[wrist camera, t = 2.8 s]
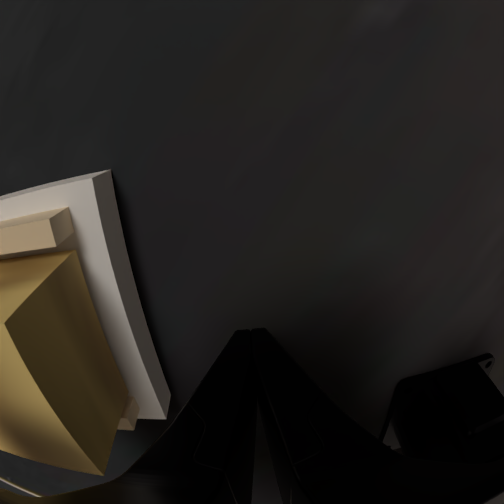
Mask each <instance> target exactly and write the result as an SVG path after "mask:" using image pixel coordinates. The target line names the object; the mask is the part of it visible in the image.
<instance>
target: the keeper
mask: <svg viewBox="0 0 504 504" xmlns="http://www.w3.org/2000/svg"><path fill="white" fill-rule="evenodd" d="M128 392H129V391H128V389H127V387H126V385H125V383H124V381H123V378H122V376H121V374H120V372H119V369H118V367H117V365H116V362H115V360H114V358H113V355H112V353H111V351H110V348H109V346H108V343H107V341H106V338H105V336H104V333H103V330H102V328H101V325H100V322H99V320H98V317H97V314H96V311H95V309H94V306H93V303H92V300H91V297H90V294H89V291H88V288H87V285H86V282H85V279H84V275H83V272H82V269H81V266H80V262H79V259H78V255H77V252H76V250H68V251H60V252H53V253H45V254H38V255H30V256H23V257H16V258H9V259H2V260H0V450H3V451H6V452H9V453H12V454H15V455H18V456H21V457H24V458H28V459H31V460H34V461H38V462H42V463H45V464H49V465H53V466H57V467H61V468H66V469H70V470H75V471H80V472H85V473H90V474H96V475H102V476H104V474H105V470H106V466H107V463H108V459H109V455H110V452H111V448H112V445H113V441H114V438H115V434H116V431H117V428H118V424H119V421H120V418H121V415H122V411H123V408H124V405H125V402H126V399H127V395H128Z"/></svg>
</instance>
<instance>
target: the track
mask: <svg viewBox="0 0 504 504" xmlns="http://www.w3.org/2000/svg"><path fill="white" fill-rule="evenodd" d="M68 250H76V252H77V255H78V259H79V262H80V266H81V269H82V272H83V275H84V279H85V282H86V285H87V288H88V291H89V294H90V297H91V300H92V303H93V306H94V309H95V311H96V314H97V317H98V320H99V322H100V325H101V328H102V330H103V333H104V336H105V338H106V341H107V343H108V346H109V348H110V351H111V353H112V355H113V358H114V360H115V362H116V365H117V367H118V369H119V372H120V374H121V376H122V378H123V381H124V383H125V385H126V387H127V389H128V391H129V392H128V395H127V399H126V402H125V405H124V408H123V411H122V415H121V418H120V421H119V424H118V428H117V429H121V430H134V429H135V425H136V421H137V419H167V413H168V408H169V403H170V397H171V394H170V391H169V388H168V385H167V383H166V380H165V377H164V374H163V372H162V369H161V366H160V363H159V360H158V357H157V354H156V351H155V348H154V345H153V342H152V339H151V336H150V332H149V329H148V326H147V323H146V319H145V316H144V313H143V309H142V306H141V302H140V299H139V295H138V292H137V288H136V284H135V281H134V277H133V273H132V269H131V265H130V261H129V257H128V253H127V249H126V244H125V240H124V236H123V231H122V227H121V222H120V217H119V212H118V207H117V202H116V197H115V192H114V186H113V181H112V175H111V170H106V171H101V172H96V173H91V174H86V175H82V176H77V177H73V178H68V179H64V180H60V181H56V182H52V183H48V184H44V185H40V186H36V187H32V188H28V189H25V190H21V191H17V192H14V193H10V194H7V195H3V196H0V260H2V259H9V258H16V257H23V256H30V255H38V254H45V253H53V252H60V251H68Z"/></svg>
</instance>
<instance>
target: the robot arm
mask: <svg viewBox="0 0 504 504" xmlns="http://www.w3.org/2000/svg"><path fill="white" fill-rule="evenodd" d="M494 362H495V358H494V357H493V356H492V354H490V353H488V354H485V355H483V356H480V357H477V358H474V359H471V360H468V361H465V362H462V363H459V364H456V365H453V366H450V367H446V368H443V369H440V370H436V371H433V372H429V373H426V374H422V375H419V376H415V377H411V378H407V379H405V380H403V381H402V382H400V383H399V384H398V386H397V388H396V392H395V395H394V398H393V402H392V405H391V408H390V411H389V414H388V417H387V420H386V423H385V426H384V429H383V432H382V435H381V437H380V440H379V439H377V438H376V437H375V436H373V435H372V434H371V433H369V432H368V431H367V430H365V429H364V428H363V427H361V426H360V425H359V424H357V423H356V422H355V421H354V420H353V419H351V418H350V417H349V416H348V415H347V414H345V413H344V412H343V411H342V410H341V409H340V408H339V407H338V406H337V405H336V404H335V403H334V402H333V401H332V400H331V399H330V398H329V397H328V396H327V395H326V394H325V393H324V392H323V391H322V390H321V389H320V388H319V387H318V385H317V384H316V383H315V382H314V381H313V380H312V379H311V378H310V377H309V376H308V375H307V374H306V373H305V371H304V370H303V369H302V368H301V367H300V366H299V365H298V364H297V363H296V362H295V361H294V359H293V358H292V357H291V356H290V355H289V354H288V353H287V352H286V351H285V350H284V348H283V347H282V346H281V345H280V344H279V343H278V342H277V341H276V340H275V338H274V337H273V336H272V335H271V334H270V333H269V332H268V331H267V329H265V328H257V329H252V330H251V331H250V330H249V329H246V330H237V331H235V333H234V334H233V336H232V337H231V339H230V340H229V342H228V343H227V345H226V346H225V348H224V349H223V351H222V352H221V353H220V355H219V356H218V358H217V359H216V361H215V362H214V364H213V365H212V367H211V368H210V370H209V371H208V372H207V374H206V375H205V377H204V378H203V380H202V381H201V383H200V384H199V386H198V387H197V388H196V390H195V391H194V393H193V394H192V396H191V397H190V398H189V400H188V401H187V403H186V404H187V405H184V407H183V408H182V410H181V411H180V412H179V414H178V415H177V416H176V418H175V419H174V420H173V422H172V423H171V424H170V426H169V427H168V428H167V429H166V430H165V431H164V432H163V434H162V435H161V436H160V437H159V438H158V439H157V440H156V441H155V442H154V443H153V444H152V445H151V447H150V448H149V449H148V450H147V451H146V452H145V453H144V454H143V455H142V456H141V457H140V458H139V459H138V460H137V461H136V462H135V463H134V464H133V465H132V466H131V467H130V468H129V469H128V470H127V471H126V472H125V473H123V474H122V475H121V476H119V477H118V478H116V479H114V480H112V481H110V482H107V483H104V484H100V485H96V486H92V487H88V488H84V489H80V490H76V491H72V492H67V493H62V494H57V495H52V496H46V497H26V496H22V495H18V494H16V493H13V492H11V491H8V490H5V489H1V488H0V504H251V498H252V483H253V468H254V452H255V435H256V418H257V398H258V404H259V409H260V413H261V417H262V421H263V426H264V430H265V434H266V438H267V442H268V446H269V450H270V454H271V458H272V462H273V466H274V470H275V474H276V478H277V482H278V485H279V489H280V493H281V497H282V501H283V504H504V397H503V395H502V394H501V393H500V391H499V390H498V389H497V387H496V386H495V385H494V383H493V382H492V381H491V379H490V378H489V377H488V375H489V373H490V371H491V369H492V366H493V364H494ZM398 448H401V449H402V452H403V454H404V455H402V454H399V453H397V452H396V451H394V449H398Z"/></svg>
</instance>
